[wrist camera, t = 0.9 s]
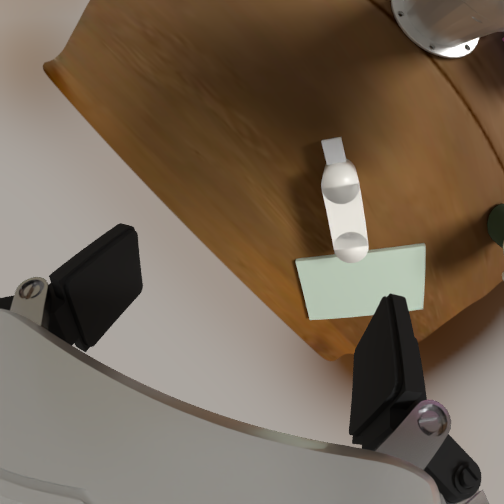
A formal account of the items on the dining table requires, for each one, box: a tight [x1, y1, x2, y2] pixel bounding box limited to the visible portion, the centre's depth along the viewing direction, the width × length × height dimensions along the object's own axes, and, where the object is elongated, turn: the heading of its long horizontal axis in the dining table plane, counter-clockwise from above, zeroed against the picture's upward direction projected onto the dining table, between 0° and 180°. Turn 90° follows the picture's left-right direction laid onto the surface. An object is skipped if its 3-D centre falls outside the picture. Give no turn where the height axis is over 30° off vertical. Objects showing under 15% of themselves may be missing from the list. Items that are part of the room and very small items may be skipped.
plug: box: [321, 137, 368, 263], centre depth 34 cm, size 4×15×6 cm, turn 18°
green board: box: [295, 243, 425, 320], centre depth 42 cm, size 20×12×1 cm, turn 108°
